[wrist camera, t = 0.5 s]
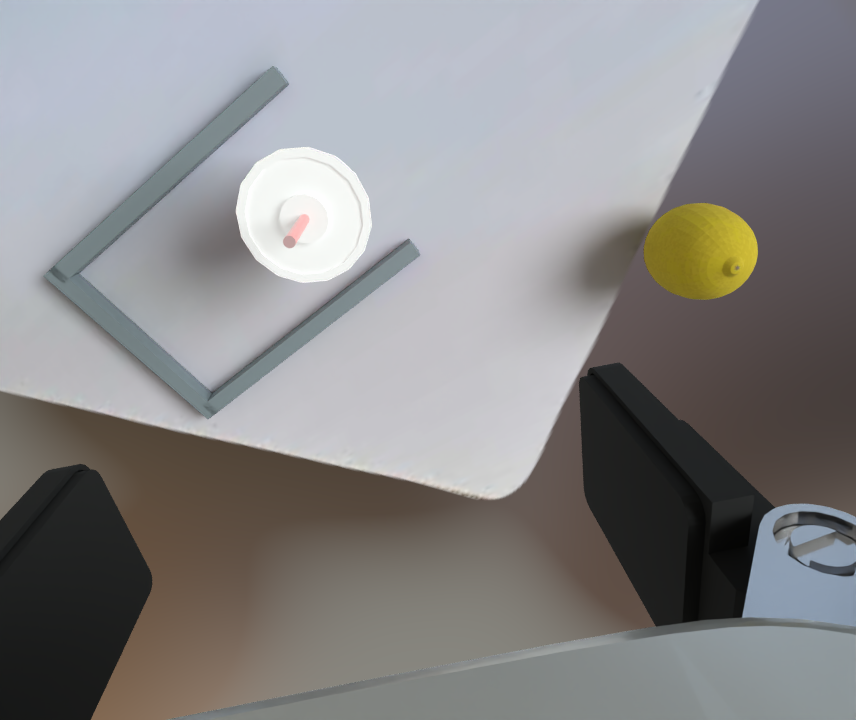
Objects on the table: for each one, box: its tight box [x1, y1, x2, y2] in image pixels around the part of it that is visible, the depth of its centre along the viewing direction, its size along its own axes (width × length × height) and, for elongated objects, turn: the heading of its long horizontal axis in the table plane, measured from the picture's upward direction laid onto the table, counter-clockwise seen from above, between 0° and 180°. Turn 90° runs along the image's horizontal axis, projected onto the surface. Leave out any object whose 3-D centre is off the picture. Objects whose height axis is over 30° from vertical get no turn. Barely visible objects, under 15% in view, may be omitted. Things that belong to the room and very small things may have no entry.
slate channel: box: [44, 66, 420, 419], centre depth 33 cm, size 18×13×1 cm
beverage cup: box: [236, 147, 372, 283], centre depth 26 cm, size 6×6×14 cm
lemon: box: [644, 203, 758, 299], centre depth 32 cm, size 6×6×8 cm
